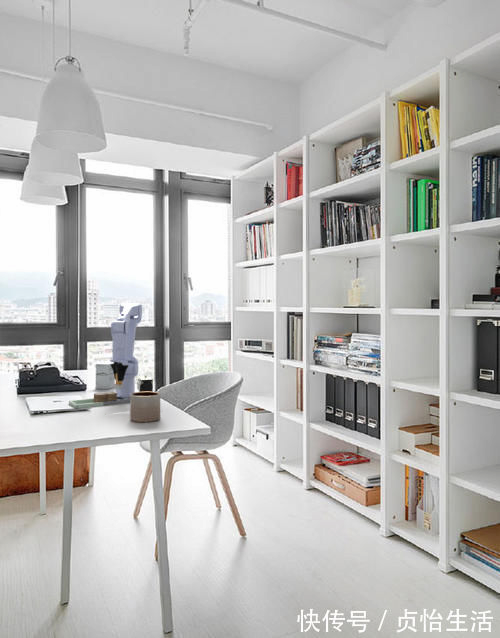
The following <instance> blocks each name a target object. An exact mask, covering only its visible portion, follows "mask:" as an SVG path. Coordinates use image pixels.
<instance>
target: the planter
mask: <svg viewBox="0 0 500 638" xmlns="http://www.w3.org/2000/svg"><path fill="white" fill-rule="evenodd" d="M129 404H130V408H129V411H130V412H129V419H130V420H131V421H133V422H135V423H143V424H145V423H146V422H147V423H153V422H157V421H159V420H160V419H161V393H160V392H157V391H153V392H150V391H144V392H139V391H136V392H135V393H132V394H131V396H130V403H129Z"/></svg>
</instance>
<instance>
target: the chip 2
mask: <svg viewBox="0 0 500 638" xmlns="http://www.w3.org/2000/svg"><path fill="white" fill-rule="evenodd" d="M104 393H105V394H107V397H106V401H109V400H117V393H116V391H115V392H114V391H109V392H104Z"/></svg>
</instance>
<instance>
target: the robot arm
mask: <svg viewBox="0 0 500 638" xmlns="http://www.w3.org/2000/svg"><path fill="white" fill-rule="evenodd" d="M118 310H119V314H118V316H117V317H116V319H115V320H113V321H112V322H111V324H110V331H111V332H110V333H111V338H112V356H111V357H110V359H109V361H110V363H114V364H110V365H111V367H112V369H113V373H114V377H115V381H116V373H117V378H118V381H122V384H123V389H116V388H115V393H117V396H123V397H125V398H128V397H130V398H131V394H132V393H135V388H136V387H135V384H136V383H135V382H136V381H135V380H136V379H135V378H136V377H137V376H138V373H139V360H138V359H137V358H136V357H135V356H134V350H135V343H136V342H135V340H136V332H137V326H138V324H140V323H141V321H142V316H143V306H142V304H141V303H140V302H139V303H122V302H121V303H120V304H119V309H118Z"/></svg>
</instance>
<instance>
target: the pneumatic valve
mask: <svg viewBox="0 0 500 638" xmlns="http://www.w3.org/2000/svg"><path fill="white" fill-rule="evenodd" d="M136 382H137V385H136V386H137V388H136V389H137V390H138V392H144V391H150V392H154V379H153V378H152V377H151V376H147V375H144V376H138V378H137V381H136Z"/></svg>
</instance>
